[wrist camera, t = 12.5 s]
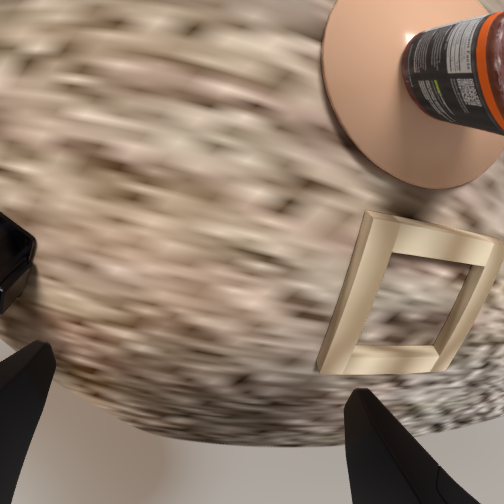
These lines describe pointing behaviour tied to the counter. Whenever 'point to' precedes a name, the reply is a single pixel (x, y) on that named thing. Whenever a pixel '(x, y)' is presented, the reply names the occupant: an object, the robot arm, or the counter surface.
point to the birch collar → (368, 282)
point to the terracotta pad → (398, 92)
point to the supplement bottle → (459, 72)
